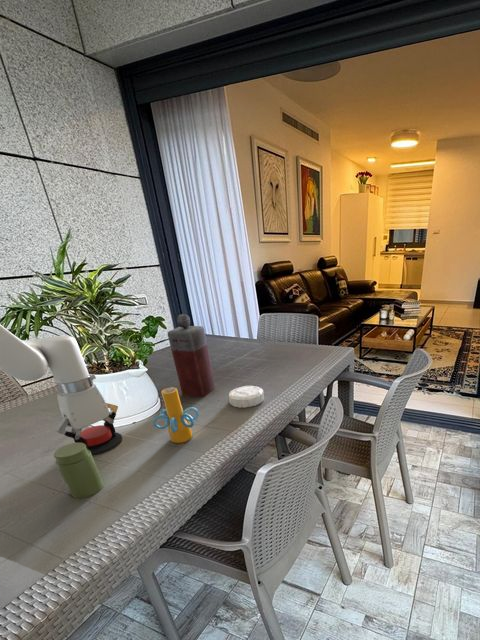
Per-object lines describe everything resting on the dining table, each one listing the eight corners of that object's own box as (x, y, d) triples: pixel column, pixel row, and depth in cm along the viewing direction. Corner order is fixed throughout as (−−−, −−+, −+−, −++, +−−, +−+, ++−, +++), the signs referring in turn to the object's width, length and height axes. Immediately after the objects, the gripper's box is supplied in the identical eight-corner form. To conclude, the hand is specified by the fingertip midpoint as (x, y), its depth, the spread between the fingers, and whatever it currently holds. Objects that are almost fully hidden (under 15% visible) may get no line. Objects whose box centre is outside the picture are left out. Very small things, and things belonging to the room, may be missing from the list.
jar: (64, 494, 81) (44, 455, 76) (90, 477, 87) (73, 439, 81) (85, 500, 79) (66, 460, 74) (110, 482, 84) (94, 444, 79)
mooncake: (271, 397, 124) (270, 388, 123) (247, 411, 116) (246, 401, 114) (246, 391, 130) (245, 382, 129) (222, 403, 122) (220, 393, 120)
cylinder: (210, 433, 104) (200, 386, 96) (185, 451, 96) (171, 401, 88) (179, 426, 108) (167, 380, 101) (152, 442, 100) (137, 394, 93)
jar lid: (109, 429, 104) (106, 422, 103) (115, 439, 99) (112, 432, 98) (79, 438, 100) (76, 431, 99) (84, 449, 95) (80, 441, 94)
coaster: (65, 451, 98) (64, 449, 97) (101, 430, 107) (101, 429, 107) (96, 459, 94) (95, 457, 93) (131, 436, 103) (131, 435, 103)
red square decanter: (189, 385, 137) (172, 311, 123) (215, 387, 135) (201, 312, 121) (176, 394, 130) (156, 317, 116) (203, 397, 127) (186, 317, 113)
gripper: (99, 371, 100) (118, 426, 108) (31, 394, 87) (59, 453, 95) (115, 376, 96) (133, 431, 105) (46, 400, 83) (74, 461, 92)
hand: (98, 441), depth 100 cm, fingers closed on jar lid, 7 cm apart
